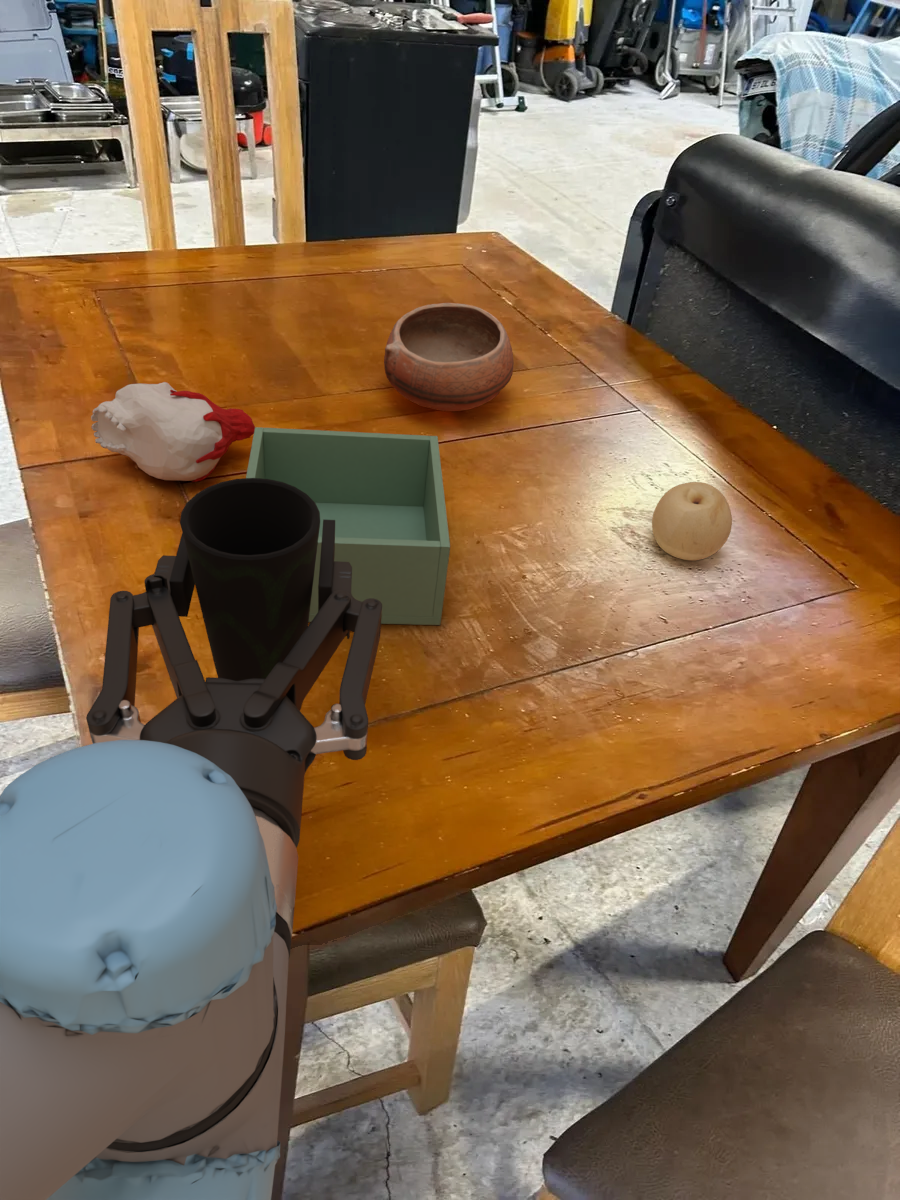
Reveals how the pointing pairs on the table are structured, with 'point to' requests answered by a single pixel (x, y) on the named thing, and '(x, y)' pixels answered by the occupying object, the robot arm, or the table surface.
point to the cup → (252, 570)
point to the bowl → (448, 356)
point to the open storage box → (370, 511)
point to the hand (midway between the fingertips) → (262, 534)
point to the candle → (169, 430)
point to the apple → (692, 521)
